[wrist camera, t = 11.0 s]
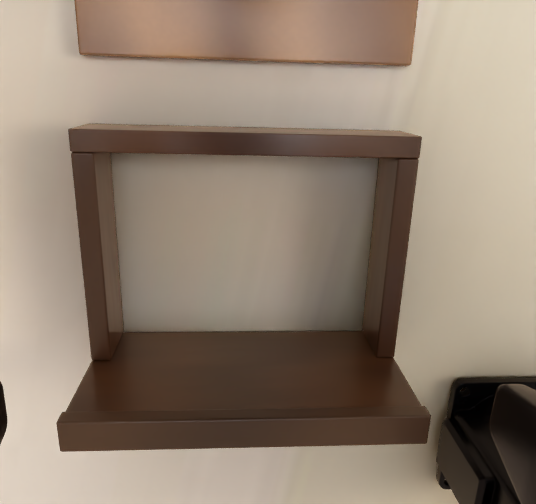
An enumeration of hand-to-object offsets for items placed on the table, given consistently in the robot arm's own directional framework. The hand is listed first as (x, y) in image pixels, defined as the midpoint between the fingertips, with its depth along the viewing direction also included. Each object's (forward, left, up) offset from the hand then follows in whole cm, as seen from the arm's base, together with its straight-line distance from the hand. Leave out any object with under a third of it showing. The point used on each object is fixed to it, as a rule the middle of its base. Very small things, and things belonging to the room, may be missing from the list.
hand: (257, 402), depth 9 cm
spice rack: (0, +1, -13) cm, 13 cm away
